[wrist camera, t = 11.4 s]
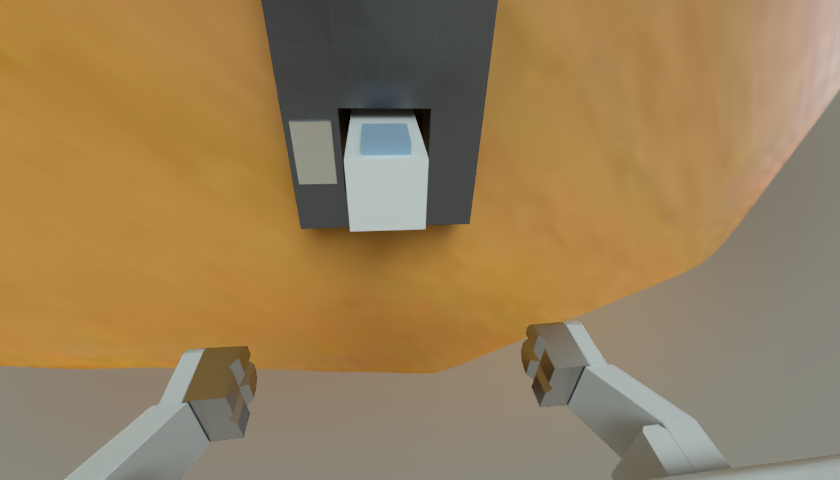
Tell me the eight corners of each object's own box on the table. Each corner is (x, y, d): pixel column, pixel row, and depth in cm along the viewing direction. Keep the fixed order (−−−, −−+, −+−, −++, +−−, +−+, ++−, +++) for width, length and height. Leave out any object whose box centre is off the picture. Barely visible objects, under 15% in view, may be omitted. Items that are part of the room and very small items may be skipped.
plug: (356, 158, 28) (350, 231, 20) (351, 93, 25) (342, 147, 17) (409, 157, 28) (425, 229, 20) (410, 94, 26) (429, 146, 18)
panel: (308, 201, 30) (300, 230, 26) (244, -226, 17) (211, -278, 14) (459, 197, 31) (470, 225, 27) (500, -203, 18) (530, -244, 15)
